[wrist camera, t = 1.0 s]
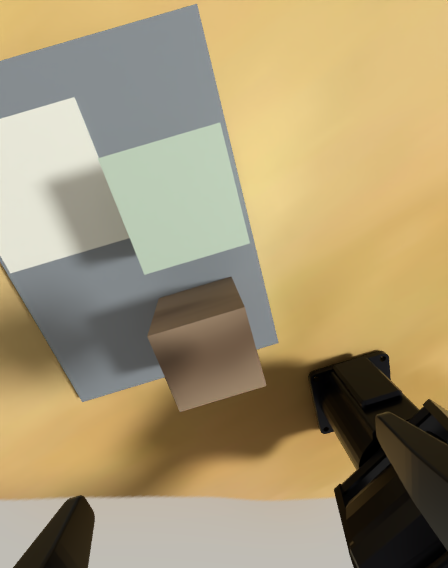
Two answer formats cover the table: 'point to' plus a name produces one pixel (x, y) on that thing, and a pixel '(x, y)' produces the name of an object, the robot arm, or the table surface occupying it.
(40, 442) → the table surface
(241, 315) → the walnut block
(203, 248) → the sage block
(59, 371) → the table surface
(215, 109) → the baseplate
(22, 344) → the table surface
